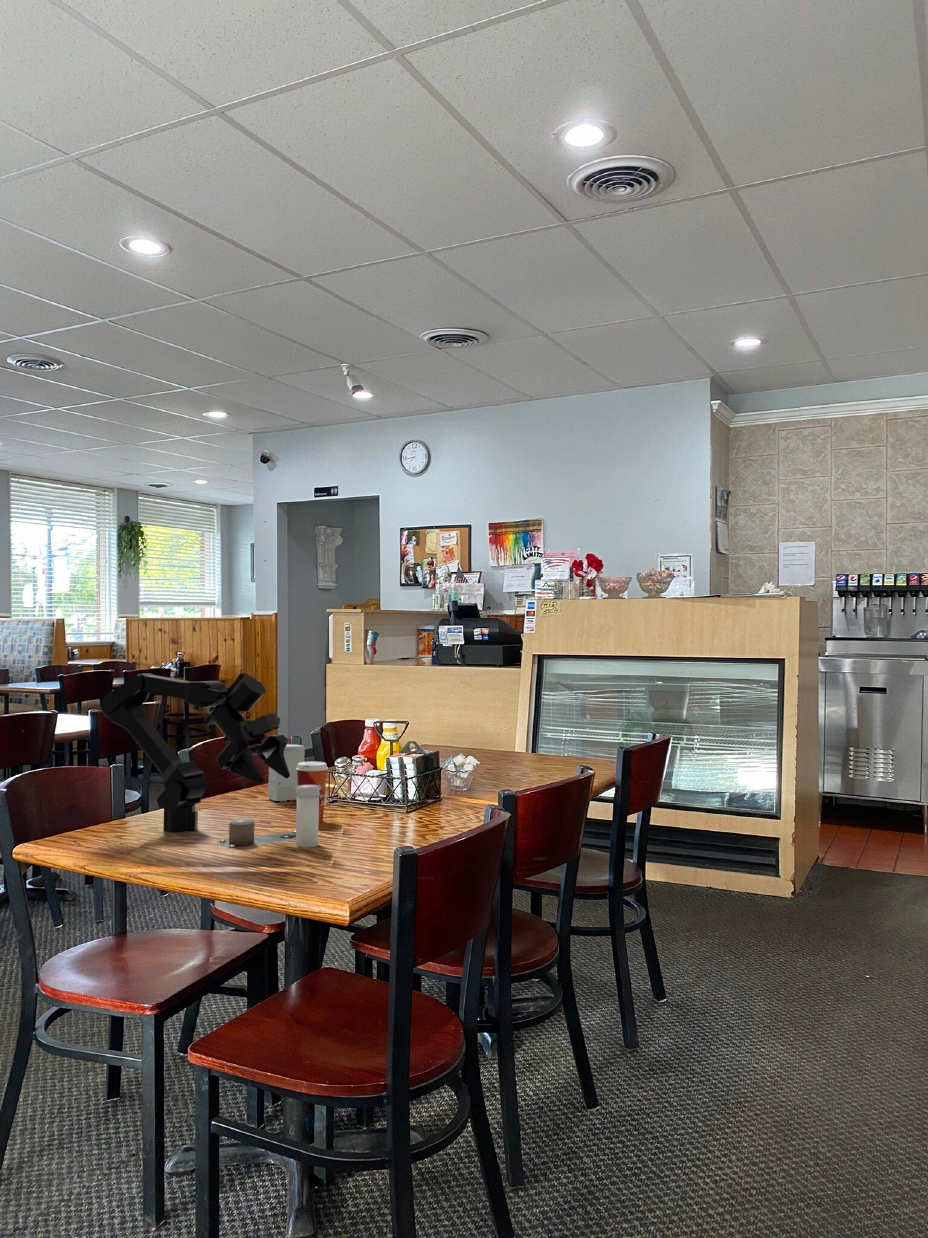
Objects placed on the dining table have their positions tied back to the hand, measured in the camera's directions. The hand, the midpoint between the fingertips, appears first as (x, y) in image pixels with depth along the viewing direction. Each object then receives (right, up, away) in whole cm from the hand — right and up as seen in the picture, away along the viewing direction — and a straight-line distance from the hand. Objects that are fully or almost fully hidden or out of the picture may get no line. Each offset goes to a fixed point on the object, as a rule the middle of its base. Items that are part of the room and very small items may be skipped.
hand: (276, 780), depth 190 cm
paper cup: (+3, -15, +24) cm, 28 cm away
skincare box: (-9, -15, +53) cm, 56 cm away
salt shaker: (+7, -14, -4) cm, 16 cm away
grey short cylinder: (-7, -13, -2) cm, 15 cm away
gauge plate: (-3, -14, +1) cm, 14 cm away
